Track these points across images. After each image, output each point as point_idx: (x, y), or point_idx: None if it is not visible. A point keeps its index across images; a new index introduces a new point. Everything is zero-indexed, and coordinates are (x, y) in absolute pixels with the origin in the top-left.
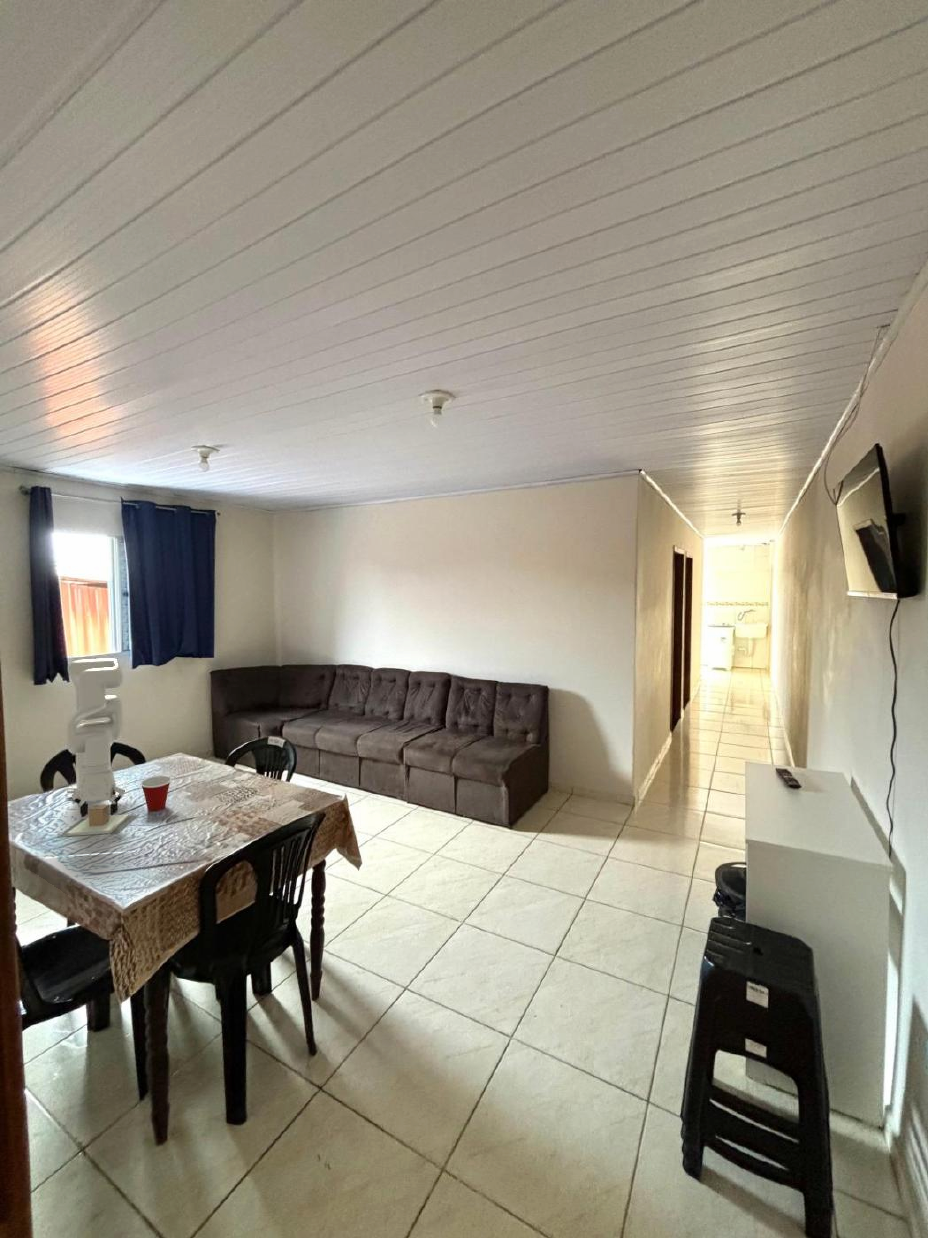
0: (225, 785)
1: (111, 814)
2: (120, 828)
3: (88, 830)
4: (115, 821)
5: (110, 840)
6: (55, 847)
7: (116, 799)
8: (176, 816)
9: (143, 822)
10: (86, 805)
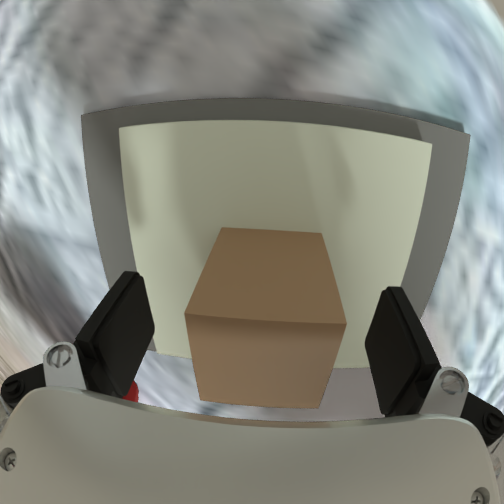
0: None
1: (130, 273)
2: (107, 194)
3: (291, 149)
4: (170, 279)
5: (97, 45)
6: (410, 3)
7: (38, 383)
8: (8, 295)
9: (66, 270)
10: (390, 396)
